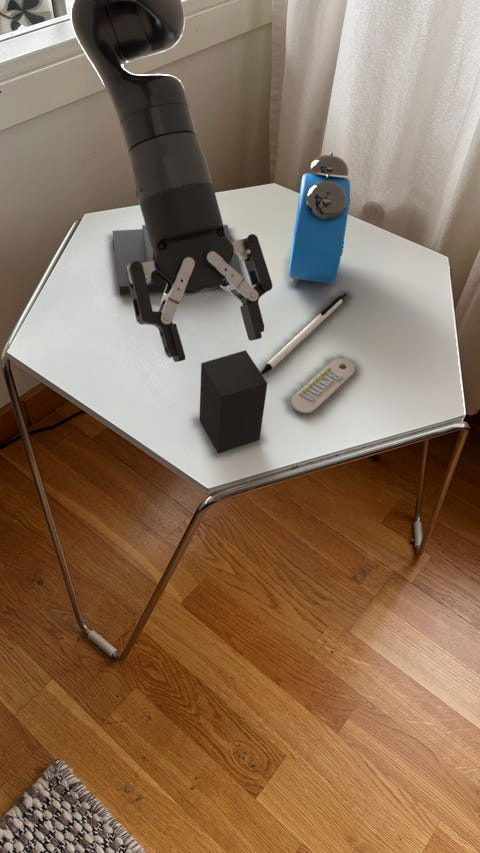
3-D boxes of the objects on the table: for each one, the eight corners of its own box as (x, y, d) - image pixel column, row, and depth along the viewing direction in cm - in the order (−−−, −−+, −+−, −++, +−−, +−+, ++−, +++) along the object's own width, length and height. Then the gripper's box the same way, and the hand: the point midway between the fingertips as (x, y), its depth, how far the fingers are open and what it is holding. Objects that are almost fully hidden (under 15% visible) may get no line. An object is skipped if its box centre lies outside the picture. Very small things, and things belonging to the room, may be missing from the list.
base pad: (119, 294, 90) (118, 274, 88) (113, 237, 98) (111, 218, 95) (242, 285, 93) (244, 266, 91) (226, 231, 101) (228, 212, 98)
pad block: (217, 453, 75) (221, 397, 68) (199, 420, 78) (201, 362, 71) (259, 439, 77) (267, 382, 70) (240, 407, 79) (245, 349, 73)
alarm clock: (292, 240, 100) (307, 139, 89) (336, 245, 100) (356, 145, 89) (285, 299, 92) (300, 197, 80) (332, 305, 92) (354, 203, 80)
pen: (347, 298, 93) (349, 292, 92) (263, 379, 83) (264, 372, 82) (342, 295, 93) (343, 289, 92) (256, 375, 83) (257, 368, 82)
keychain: (339, 352, 85) (360, 365, 84) (338, 356, 86) (359, 368, 84) (286, 400, 80) (307, 414, 79) (285, 403, 80) (307, 417, 79)
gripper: (113, 195, 64) (163, 367, 67) (253, 167, 69) (294, 329, 71) (99, 214, 71) (145, 369, 74) (227, 187, 76) (266, 334, 78)
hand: (218, 349), depth 73 cm, fingers open, 8 cm apart
